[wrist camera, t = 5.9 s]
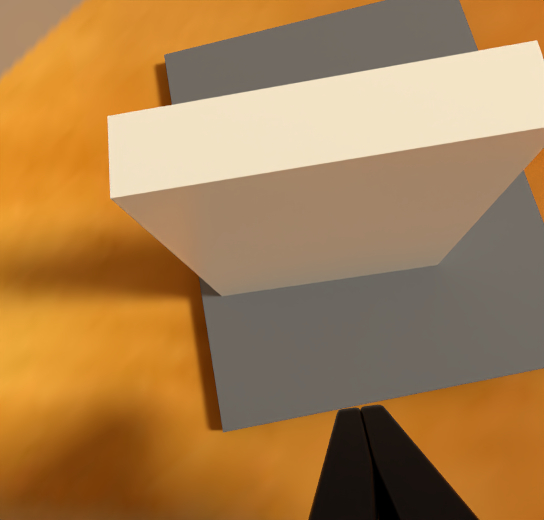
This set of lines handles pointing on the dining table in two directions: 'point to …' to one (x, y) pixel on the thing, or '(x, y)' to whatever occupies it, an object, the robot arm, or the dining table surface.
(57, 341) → the dining table surface
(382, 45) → the mat
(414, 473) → the robot arm
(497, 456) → the dining table surface
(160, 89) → the dining table surface
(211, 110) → the tile
